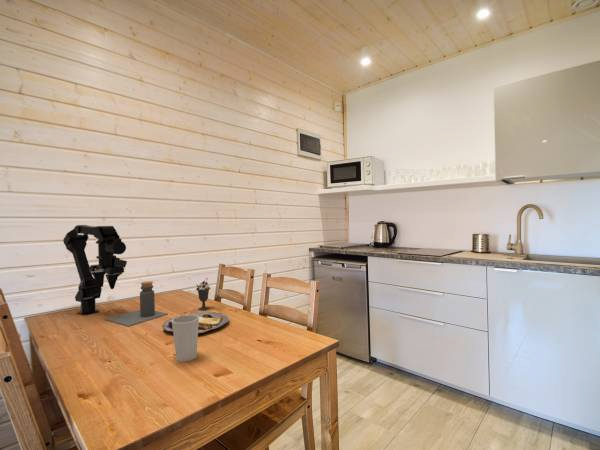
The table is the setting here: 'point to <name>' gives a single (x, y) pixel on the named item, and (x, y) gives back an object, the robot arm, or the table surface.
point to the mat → (133, 318)
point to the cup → (185, 337)
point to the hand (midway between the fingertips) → (106, 288)
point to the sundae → (203, 293)
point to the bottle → (147, 299)
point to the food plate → (203, 321)
